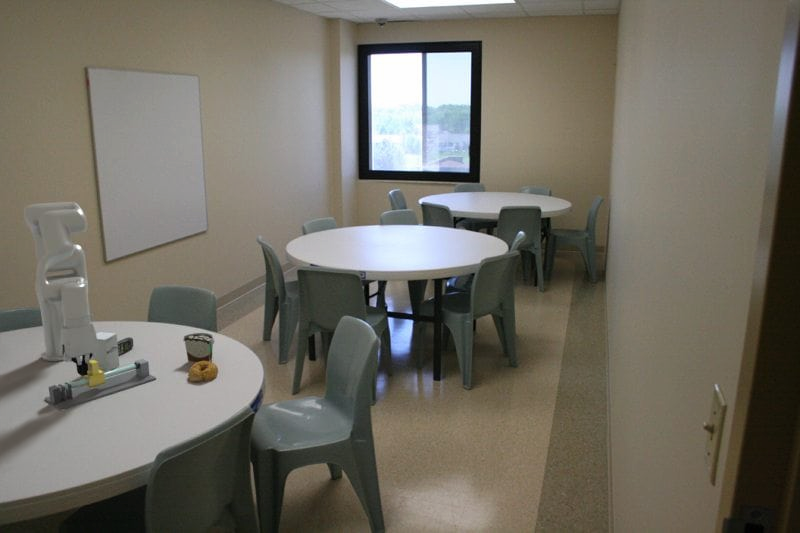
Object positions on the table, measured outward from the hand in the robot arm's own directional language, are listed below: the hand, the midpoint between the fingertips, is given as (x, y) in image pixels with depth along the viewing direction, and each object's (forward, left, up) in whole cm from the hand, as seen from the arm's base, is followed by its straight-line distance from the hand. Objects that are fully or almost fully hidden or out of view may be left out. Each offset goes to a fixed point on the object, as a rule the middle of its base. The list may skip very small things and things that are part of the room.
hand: (83, 374), depth 208 cm
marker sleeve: (0, +3, -5) cm, 6 cm away
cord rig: (0, +5, -7) cm, 9 cm away
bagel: (+16, +34, -8) cm, 38 cm away
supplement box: (-17, +15, -7) cm, 24 cm away
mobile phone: (-27, +26, -7) cm, 39 cm away
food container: (+3, +43, -7) cm, 43 cm away
